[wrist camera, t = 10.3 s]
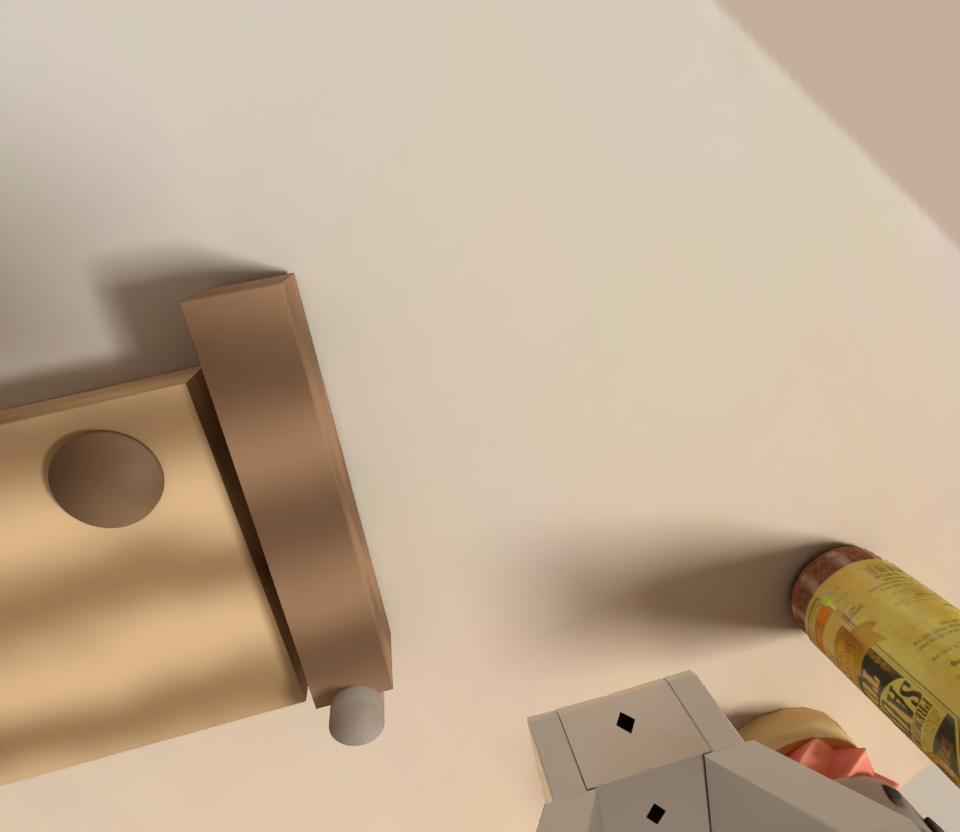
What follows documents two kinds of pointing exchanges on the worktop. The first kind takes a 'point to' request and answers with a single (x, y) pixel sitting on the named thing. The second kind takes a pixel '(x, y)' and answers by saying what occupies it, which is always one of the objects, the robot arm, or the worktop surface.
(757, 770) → the robot arm
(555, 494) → the worktop surface
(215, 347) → the brown wooden block
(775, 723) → the cake
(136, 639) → the stool seat
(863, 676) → the sauce bottle
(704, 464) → the worktop surface
